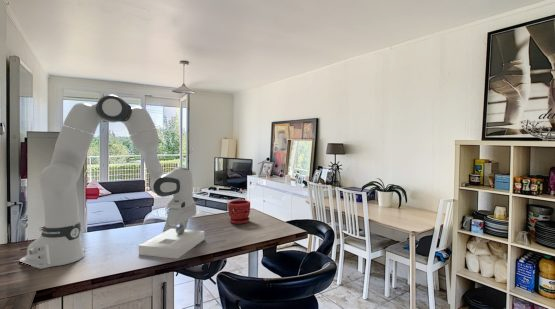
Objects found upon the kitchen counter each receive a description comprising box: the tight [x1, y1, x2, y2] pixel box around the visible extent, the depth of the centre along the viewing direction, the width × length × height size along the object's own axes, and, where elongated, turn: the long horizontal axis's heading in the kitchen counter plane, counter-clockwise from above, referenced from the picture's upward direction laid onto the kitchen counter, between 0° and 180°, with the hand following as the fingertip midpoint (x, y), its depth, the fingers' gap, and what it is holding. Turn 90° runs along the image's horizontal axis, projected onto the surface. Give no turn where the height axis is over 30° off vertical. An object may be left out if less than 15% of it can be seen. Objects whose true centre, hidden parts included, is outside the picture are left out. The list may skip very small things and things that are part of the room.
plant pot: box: [227, 199, 251, 225], centre depth 174 cm, size 13×13×12 cm
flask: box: [162, 211, 178, 232], centre depth 157 cm, size 7×7×10 cm
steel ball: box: [176, 225, 186, 234], centre depth 138 cm, size 4×4×4 cm
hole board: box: [138, 229, 205, 259], centre depth 133 cm, size 18×24×4 cm
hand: (183, 229), depth 141 cm, fingers closed
